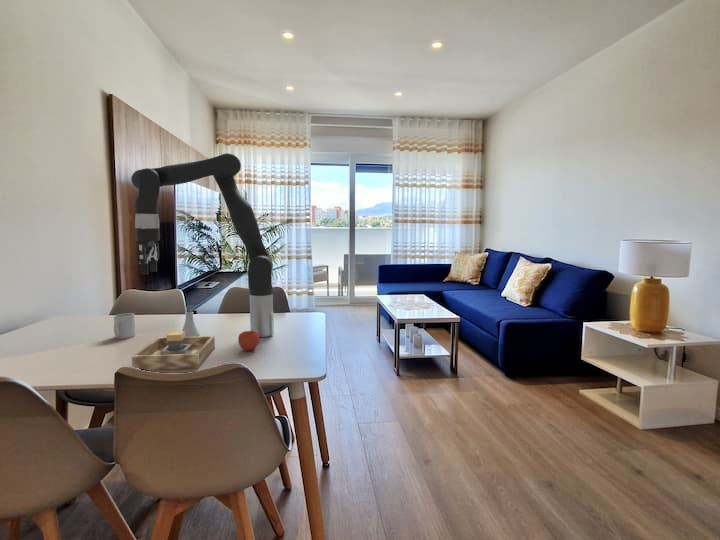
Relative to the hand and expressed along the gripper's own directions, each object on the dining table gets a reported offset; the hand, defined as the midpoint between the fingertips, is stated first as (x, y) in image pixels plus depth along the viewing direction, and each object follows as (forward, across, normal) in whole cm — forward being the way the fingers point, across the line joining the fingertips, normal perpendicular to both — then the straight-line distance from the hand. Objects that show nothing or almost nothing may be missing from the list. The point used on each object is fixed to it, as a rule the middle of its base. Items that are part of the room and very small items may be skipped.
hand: (149, 273), depth 145 cm
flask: (+29, -20, +8) cm, 36 cm away
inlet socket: (+28, +9, +11) cm, 32 cm away
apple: (+28, +2, +34) cm, 45 cm away
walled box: (+28, +9, +11) cm, 32 cm away
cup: (+29, -20, -18) cm, 40 cm away
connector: (+28, +9, +11) cm, 31 cm away
